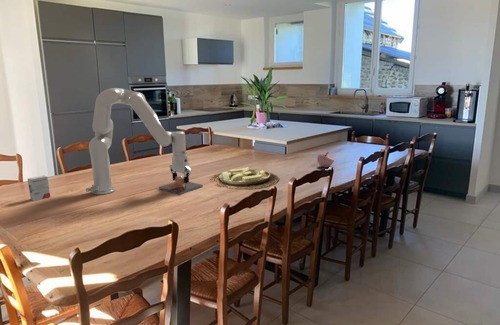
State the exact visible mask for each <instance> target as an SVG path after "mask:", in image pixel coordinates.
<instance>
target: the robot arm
mask: <svg viewBox="0 0 500 325" xmlns="http://www.w3.org/2000/svg"><path fill="white" fill-rule="evenodd" d="M95 99H96V100H95V103H94V110H93V119H92V131H93V132H94V137H93V138H92V139H91V140H90V141H89V144H88V152H89V155H90V156H89V157H90V162H91V171H92V172H91V173H92V181H93V184H91V186H90V187H86V188H85V191H86V192H91V194H93V195H107V194H111V193H114V192H115V191H116V188H115V187H114V186H113V185H112V184H113V182H112V173H111V172H112V171H111V163H110V156H109V155H110V154H109V149H110V148H111V146H112V142H113V141H112V140H113V134H114V122H113V120H112V118H111V115H112V106H113V105H115V104H116V105H117V104H122V105H127V106H130V107H131V108H132V110H133V111H134V113H135V114H136V115H137V116H138V117H139V119H140V121H141V122H142V123H143V125H144V126H145V127H146V129H147V130H148V132H149V133H150V135H151V136H152V137H153V139H154V140H155V141H156V142H157V143H158V145H160V146H161V147H168V146H169V145H171V144H172V157H171V164H170V165H169V169H170V172H171V174H172V181H174V182H175V177H178V173H180V174H183V176H184V183H188V182H190V175H191V172H192V169H191V168H190V163H189V158H188V155H187V148H186V147H187V146H186V145H187V144H186V143H187V142H186V133H185V131H180V130H179V131H178V130H177V131H168V130H165V128H164V127H163V126H162V124H161V122H160V121H159V118H158V114H157V113H156V112H155V110H154V109H153V108H152V107H151V105H150V104H149V102H147V99H146V96H145V94H143V93H141V92H139V91H133V90H131V89H130V90H129V89H125V88H119V87H112V88H108V89H107V88H106V89H105V90H103V91H102V92H99V94H98V95H97V97H96V98H95Z"/></svg>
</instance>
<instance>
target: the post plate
mask: <svg viewBox="0 0 500 325" xmlns="http://www.w3.org/2000/svg"><path fill="white" fill-rule="evenodd" d="M183 176H184V175H183ZM183 176H182V175H179V176H178V175H177V177H178V179H182V178H183ZM174 183H175V181H174V182H171V183H168V184H163V185H160V186H159V187H158V189H159V190H162V191H167V192H170V193H174V194H177V195H184V194H186V193H189V192H192V191H194V190H198V189H201V188H203V187H204V186H203V184H201V183H197V182H192V181H189V182H188V183H186V186H185V184H183V187H177V188H174V189H171V190H169V189H168V185H171V184H174Z"/></svg>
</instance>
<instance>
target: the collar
mask: <svg viewBox="0 0 500 325" xmlns="http://www.w3.org/2000/svg"><path fill="white" fill-rule="evenodd" d="M184 177H185V176H184V175H183V178H182V179H178V176H177V177H175V180H174V182H175V183H174V182H173V183H174V184H171V185H168V189H169V190H171V189H174V188H177V187H183V184H185V186H186V183H184Z"/></svg>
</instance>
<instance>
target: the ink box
mask: <svg viewBox="0 0 500 325" xmlns="http://www.w3.org/2000/svg"><path fill="white" fill-rule="evenodd" d="M27 184H28V185H27V186H28V190H29V197H30V200H31V201H33V202H34V201H35V202H36V201H39V200H43V199H47V198H51V190H50V186H49V185H50V184H49V178H48V176H46V175H44V174H43V175H39V176H33V177H28V178H27Z"/></svg>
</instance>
